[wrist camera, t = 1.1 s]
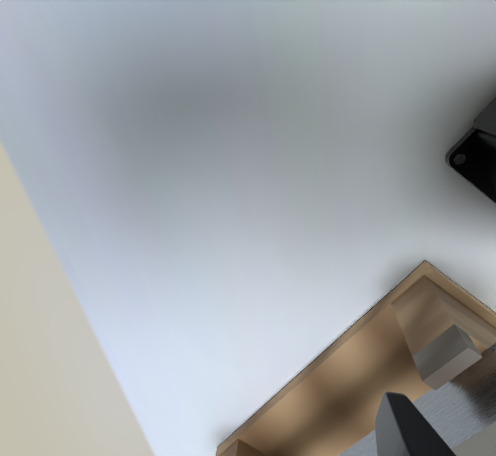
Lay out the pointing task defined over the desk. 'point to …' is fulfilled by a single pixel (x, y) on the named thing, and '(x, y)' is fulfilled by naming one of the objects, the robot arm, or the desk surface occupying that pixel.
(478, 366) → the rail
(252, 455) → the standards
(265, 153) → the desk surface
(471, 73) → the desk surface
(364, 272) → the desk surface
